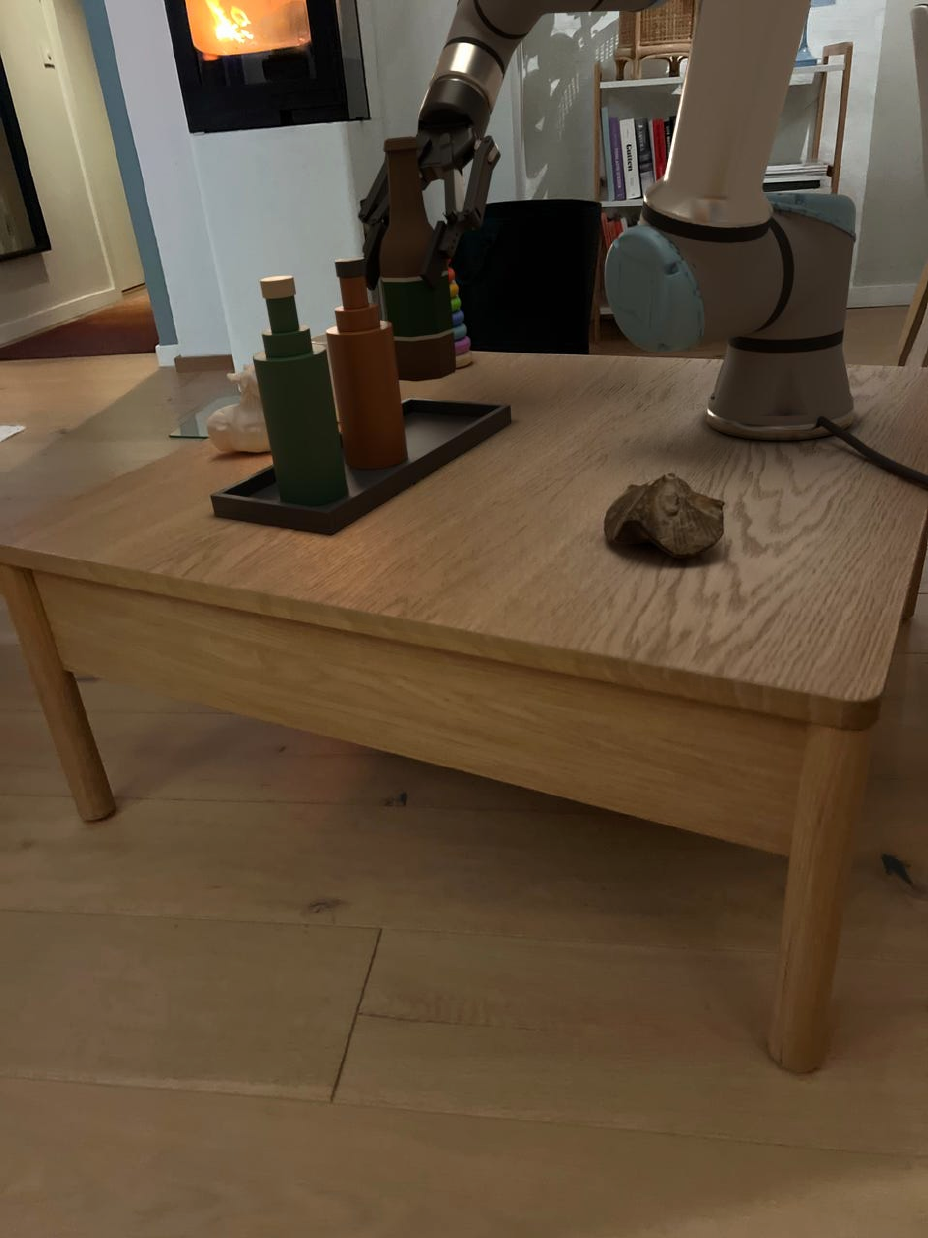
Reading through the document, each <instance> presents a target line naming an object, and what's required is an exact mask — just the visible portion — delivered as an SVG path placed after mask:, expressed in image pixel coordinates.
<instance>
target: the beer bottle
mask: <svg viewBox="0 0 928 1238" xmlns="http://www.w3.org/2000/svg"><path fill="white" fill-rule="evenodd" d="M418 148H419V146H418V143H417V140H416V138H415V136H412V135H411V136H409V135H408V136H401V137H388V138H386V139H385V140H384V141H383V149H382V151H383V152H384V153H386V154H387V169H388V186H389V204H390V215H389V226H388V228H387V230H386V233H385V235H384V237H383V239H382V242H381V247H380V253H379V272H380V278H379V281H380V289H381V298H382V306H383V313H384V314H383V315H384V321H387V322H390V323H392V326H393V334H394V343H395V351H396V359H397V368H398V376H399V381H403V382H414V383H418V382H425V381H433V380H440V379H443V378H447V377H448V376H451V375H452V374H455V373H456V370H457V368H456V351H455V339H454V328H453V316H452V305H451V293H450V281H449V270H448V267H449V264H447V261H446V264H445V267H444V270H443V273H442V276H441V279H440V282H439V285H438V287H437V290H436V291H430V289H429V288H428V287H427V285H426V284H425V282H424V281H423V280H422V278H421V277H420V276H419V273H420V270H421V267H422V264H423V261H424V258H425V255H426V252H427V250H428V247H429V244H430V241H431V238H432V235H433V232H434V229H435V228H434V227H433V226H432V224H431V223H430V222H429V219H428V215H427V210H426V206H425V200H424V194H423V191H422V186H421V180H420V177H421V176H420V173H419V166H418V160H417V153H416V151H417V149H418Z"/></svg>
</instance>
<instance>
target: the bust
mask: <svg viewBox="0 0 928 1238" xmlns="http://www.w3.org/2000/svg"><path fill="white" fill-rule="evenodd" d="M242 366H243V368H242V369H243V370H242V371H236V372H235V373H231V372H229V373H227V374H226V378H227V380H228V381H229V382H230V383H231V384H236V385H237V386H238V387H239V390H240V398H241V399H240V401H239V402H238V403H237V404H229V405H225V406H224V407H222V408H219V409H217V410H215V411H214V412H213V413H212V414H211V415H210V416H209V417H208V418H207V421H206V432H207V435H208V437H209V439H210V441H211V443H212V444H213V446H214V447H215V448H216V449H217V450H218V451H220V452H223V453H224V452H225V453H226V452H227V453H228V452H247V453H257V454H258V453H265V452H267V453H268V452H271V450H270V445H269V440H268V434H267V429H266V424H265V419H264V414H263V409H262V403H261V398H260V393H259V388H258V383H257V378H256V373H255V367H254V362H253V363H250V364H246V363H244V364H242Z"/></svg>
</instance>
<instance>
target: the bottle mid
mask: <svg viewBox="0 0 928 1238" xmlns="http://www.w3.org/2000/svg"><path fill="white" fill-rule="evenodd" d="M334 268H335V274H336V277H337V278H338V280H339V288H340V294H341V295H340V296H341V301H342V305H341V306H337V307H335V308H334V317H335V322H336V325H334V326H331V327H329V328H327V329H326V330H325V333H326V337H327V343H328V350H329V356H330V363H331V369H332V376H333V382H334V389H335V395H336V402H337V408H338V415H339V421H340V422H339V427H340V428H339V429H340V431H341V434H342V441H343V447H344V454H345V460H346V464H347V465H348V466H349V467H351V468H354V469H361V470H373V469H382V468H387V467H391V466H395V465H397V464H400V463H402V462H404V461H405V460H406V459H407V458H408V451H407V443H406V435H405V426H404V418H403V410H402V401H403V400H402V395H401V387H400V385H401V384H400V380H399V376H398V368H397V359H396V351H395V343H394V334H393V326H392V323H390V322H387V321H385V320H381V318H380V317H381V316H380V310H379V305H378V303H375V302H369V301H370V300H369V295H368V294H369V293H368V288H367V286H366V278H365V275H366V274H367V270H366V262H365V258H364V257H363V256H352V257H351V256H350V257H344V258H338V259H336V260H334Z"/></svg>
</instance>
